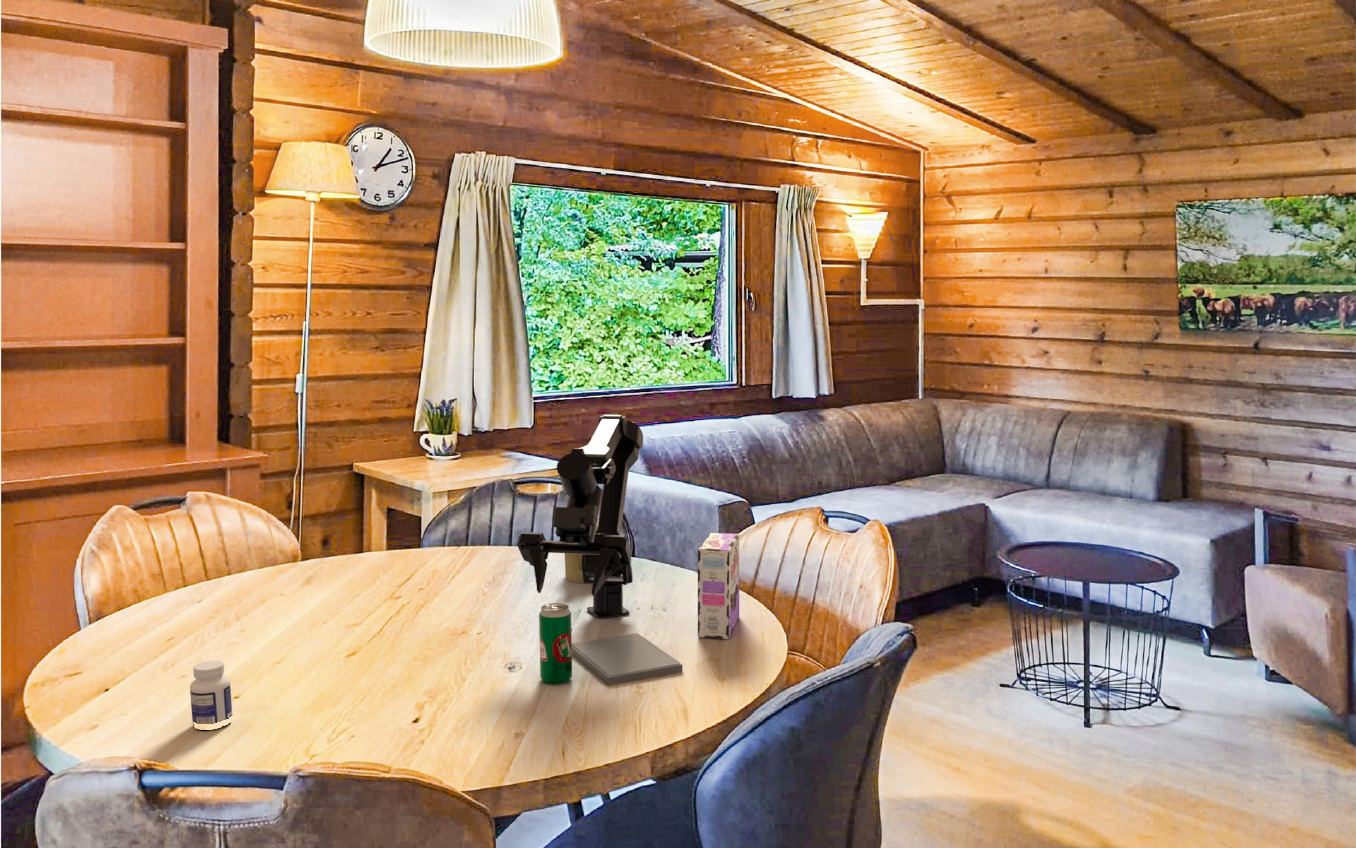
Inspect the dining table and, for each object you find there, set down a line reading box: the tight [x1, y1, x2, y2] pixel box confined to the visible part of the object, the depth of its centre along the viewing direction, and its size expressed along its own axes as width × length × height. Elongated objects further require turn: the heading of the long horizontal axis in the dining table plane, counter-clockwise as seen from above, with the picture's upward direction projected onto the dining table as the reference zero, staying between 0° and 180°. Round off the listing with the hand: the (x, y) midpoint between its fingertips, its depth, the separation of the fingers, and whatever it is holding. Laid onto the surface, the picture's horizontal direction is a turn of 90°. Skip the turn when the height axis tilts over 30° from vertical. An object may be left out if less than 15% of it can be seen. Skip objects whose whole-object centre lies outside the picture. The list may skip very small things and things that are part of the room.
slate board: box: [572, 632, 683, 686], centre depth 175 cm, size 18×13×1 cm
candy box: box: [697, 532, 740, 640], centre depth 192 cm, size 14×6×16 cm, turn 168°
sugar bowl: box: [564, 521, 599, 584], centre depth 225 cm, size 15×11×15 cm
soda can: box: [538, 602, 573, 685], centre depth 166 cm, size 5×5×12 cm
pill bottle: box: [189, 659, 233, 724], centre depth 150 cm, size 5×5×9 cm
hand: (565, 593), depth 172 cm, fingers open, 9 cm apart
